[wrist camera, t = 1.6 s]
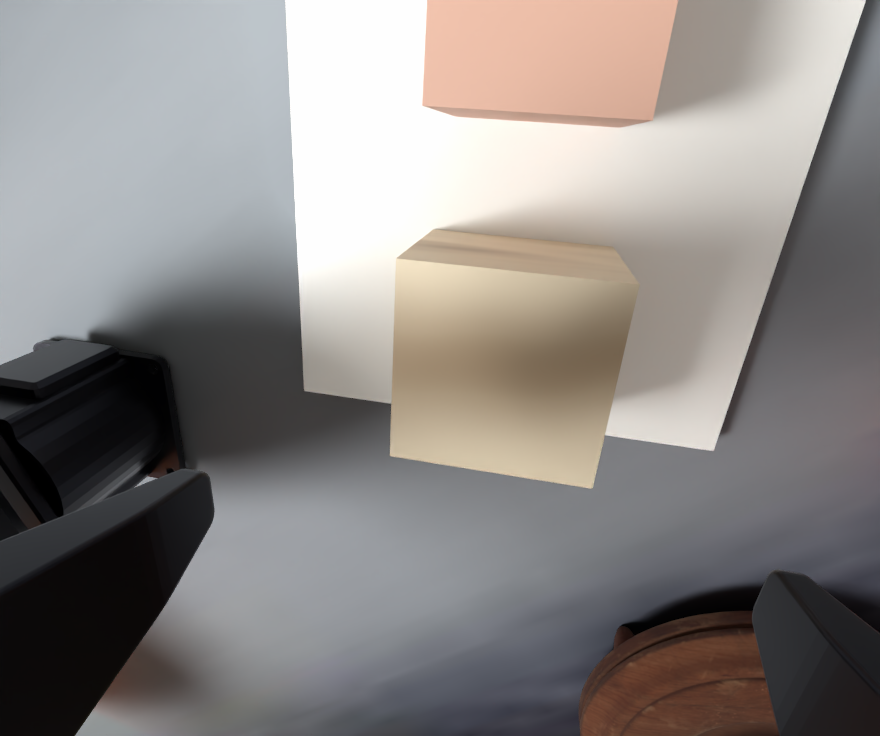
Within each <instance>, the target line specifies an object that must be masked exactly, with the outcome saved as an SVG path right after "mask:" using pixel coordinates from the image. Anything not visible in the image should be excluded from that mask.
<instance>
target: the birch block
mask: <svg viewBox="0 0 880 736" xmlns="http://www.w3.org/2000/svg"><path fill="white" fill-rule="evenodd" d="M639 286H640V284H639V283H638V281H637V280H636V278H635V277H634V276H633V274H632V273H631V271H630V270H629V268H628V267H627V266H626V264H625V263H624V261H623V260H622V259H621V257H620V256H619V254H618V253H617V251H616V250H615V249H614V247H610V246H600V245H589V244H579V243H569V242H559V241H549V240H538V239H528V238H518V237H508V236H497V235H487V234H477V233H467V232H457V231H446V230H436V229H433V230H432V231H430V232H429V233H428V234H427V235H425V236H424V237H423V238H421V239H420V240H419V241H418V242H416V243H415V244H414V245H412V246H411V247H410V248H409V249H407V250H406V251H405V252H403V253H402V254H401V255H400V256H398V257H397V258H396V272H395V304H394V337H393V369H392V401H391V434H390V456H392V457H398V458H405V459H411V460H417V461H423V462H429V463H436V464H442V465H448V466H454V467H460V468H467V469H473V470H479V471H485V472H491V473H497V474H504V475H510V476H516V477H522V478H528V479H535V480H541V481H547V482H553V483H559V484H566V485H572V486H578V487H584V488H590V489H593V484H594V480H595V476H596V471H597V467H598V463H599V458H600V454H601V450H602V445H603V441H604V437H605V432H606V428H607V424H608V419H609V415H610V411H611V407H612V402H613V398H614V394H615V389H616V385H617V381H618V376H619V372H620V368H621V363H622V359H623V355H624V350H625V346H626V342H627V337H628V333H629V329H630V324H631V320H632V316H633V311H634V307H635V303H636V298H637V294H638V290H639Z"/></svg>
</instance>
